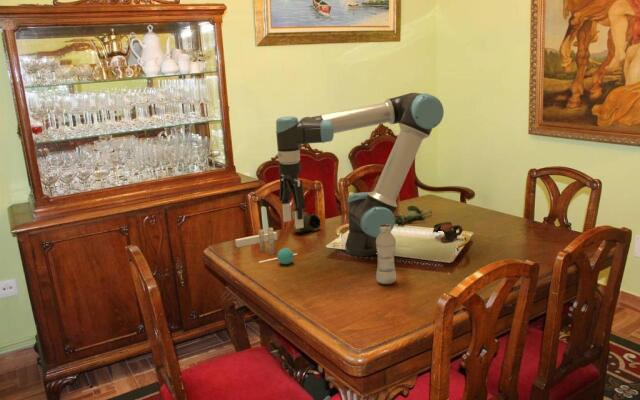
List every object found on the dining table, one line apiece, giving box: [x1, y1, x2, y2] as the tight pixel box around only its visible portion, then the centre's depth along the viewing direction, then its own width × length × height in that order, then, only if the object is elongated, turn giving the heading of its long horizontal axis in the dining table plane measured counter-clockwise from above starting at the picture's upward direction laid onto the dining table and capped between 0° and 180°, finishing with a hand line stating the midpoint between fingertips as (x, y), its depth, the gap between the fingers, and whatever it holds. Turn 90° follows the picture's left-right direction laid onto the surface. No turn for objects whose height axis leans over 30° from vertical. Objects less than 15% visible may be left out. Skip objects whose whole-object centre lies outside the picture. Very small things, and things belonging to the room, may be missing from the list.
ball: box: [277, 247, 295, 265], centre depth 209 cm, size 6×6×6 cm
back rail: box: [234, 231, 278, 248], centre depth 236 cm, size 18×2×3 cm, turn 117°
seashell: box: [291, 211, 321, 234], centre depth 246 cm, size 11×11×10 cm
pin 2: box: [267, 227, 276, 251], centre depth 226 cm, size 2×2×9 cm
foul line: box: [258, 252, 298, 264], centre depth 216 cm, size 16×1×1 cm, turn 117°
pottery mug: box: [432, 221, 464, 243], centre depth 228 cm, size 12×10×8 cm
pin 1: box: [258, 228, 266, 253], centre depth 224 cm, size 2×2×9 cm
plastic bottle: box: [375, 224, 397, 285], centre depth 185 cm, size 6×7×20 cm
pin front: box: [267, 230, 275, 255], centre depth 221 cm, size 2×2×9 cm
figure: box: [394, 205, 433, 226], centre depth 256 cm, size 16×7×25 cm
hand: (293, 224), depth 198 cm, fingers open, 10 cm apart
